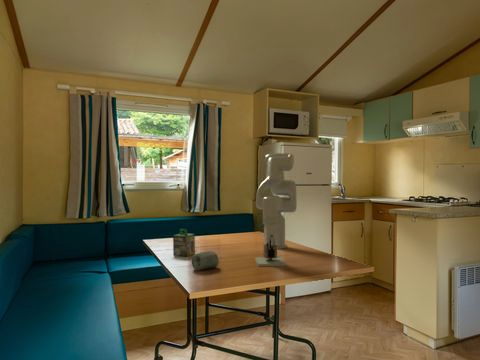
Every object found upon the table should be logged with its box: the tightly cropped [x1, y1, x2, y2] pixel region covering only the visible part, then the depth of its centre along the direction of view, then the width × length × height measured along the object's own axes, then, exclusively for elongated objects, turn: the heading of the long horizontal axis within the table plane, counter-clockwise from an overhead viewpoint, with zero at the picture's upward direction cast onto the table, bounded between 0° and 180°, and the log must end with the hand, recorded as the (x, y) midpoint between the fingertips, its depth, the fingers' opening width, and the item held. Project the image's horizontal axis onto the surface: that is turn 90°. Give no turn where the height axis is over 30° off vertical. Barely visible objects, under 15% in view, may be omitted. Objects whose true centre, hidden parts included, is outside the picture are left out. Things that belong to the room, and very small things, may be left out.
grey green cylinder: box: [190, 250, 219, 272], centre depth 163 cm, size 14×10×10 cm
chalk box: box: [172, 228, 196, 258], centre depth 195 cm, size 9×9×15 cm
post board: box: [254, 256, 287, 267], centre depth 176 cm, size 14×14×8 cm
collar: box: [263, 243, 278, 258], centre depth 176 cm, size 6×6×6 cm
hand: (270, 255), depth 176 cm, fingers closed on collar, 5 cm apart
